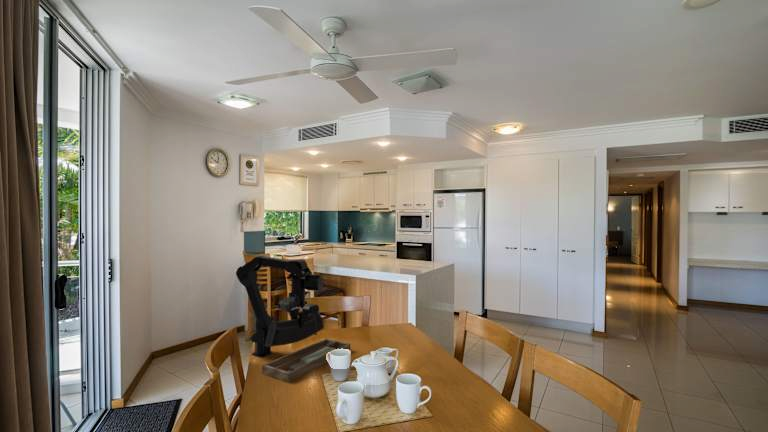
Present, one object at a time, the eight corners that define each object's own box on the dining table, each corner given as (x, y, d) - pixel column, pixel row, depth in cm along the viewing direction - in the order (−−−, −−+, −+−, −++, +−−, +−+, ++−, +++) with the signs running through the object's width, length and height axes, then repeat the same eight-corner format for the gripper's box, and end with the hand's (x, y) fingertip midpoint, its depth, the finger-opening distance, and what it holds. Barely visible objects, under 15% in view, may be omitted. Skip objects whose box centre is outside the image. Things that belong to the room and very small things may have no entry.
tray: (262, 373, 136) (262, 365, 136) (326, 344, 167) (326, 338, 167) (288, 382, 128) (288, 374, 128) (350, 350, 159) (350, 344, 159)
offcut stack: (286, 374, 136) (286, 364, 136) (330, 352, 159) (330, 344, 159) (297, 377, 133) (297, 368, 133) (340, 355, 156) (340, 346, 156)
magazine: (266, 327, 135) (319, 295, 160) (260, 326, 137) (313, 294, 162) (274, 368, 138) (324, 330, 163) (268, 366, 140) (319, 329, 165)
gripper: (267, 290, 149) (267, 328, 149) (300, 295, 140) (300, 336, 139) (288, 286, 159) (287, 321, 159) (320, 290, 149) (319, 328, 149)
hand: (297, 326), depth 151 cm, fingers closed on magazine, 3 cm apart
